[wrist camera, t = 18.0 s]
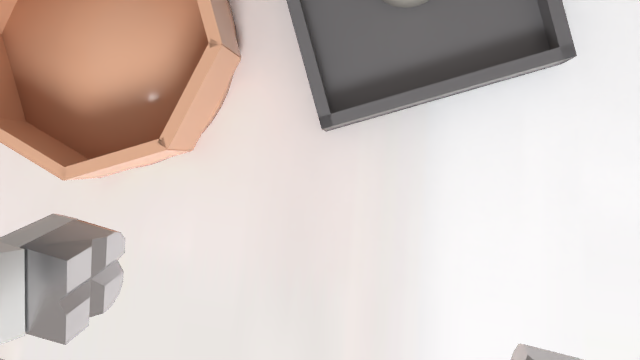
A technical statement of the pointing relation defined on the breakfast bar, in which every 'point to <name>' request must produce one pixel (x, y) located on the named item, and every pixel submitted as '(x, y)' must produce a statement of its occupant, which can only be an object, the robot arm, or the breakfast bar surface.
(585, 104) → the breakfast bar surface
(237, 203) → the breakfast bar surface
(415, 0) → the spice jar
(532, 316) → the breakfast bar surface
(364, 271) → the breakfast bar surface
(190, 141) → the bowl
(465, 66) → the tray
